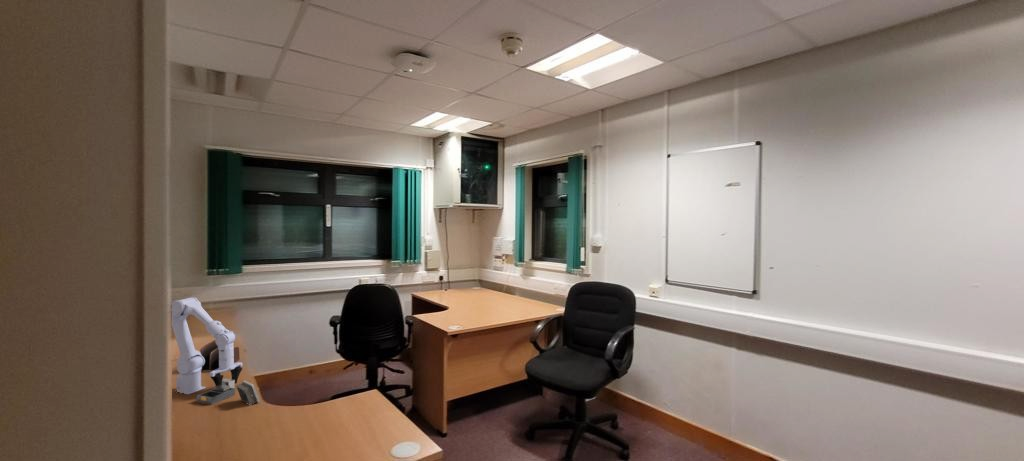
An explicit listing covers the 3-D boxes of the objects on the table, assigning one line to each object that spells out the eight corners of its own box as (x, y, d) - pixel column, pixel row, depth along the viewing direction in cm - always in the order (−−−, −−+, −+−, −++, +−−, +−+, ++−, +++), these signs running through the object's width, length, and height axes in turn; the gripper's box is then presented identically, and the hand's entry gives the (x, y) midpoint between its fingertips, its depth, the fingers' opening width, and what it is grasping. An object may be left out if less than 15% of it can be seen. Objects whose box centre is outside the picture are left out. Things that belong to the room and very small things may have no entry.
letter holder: (199, 372, 212) (199, 346, 212) (221, 360, 231) (221, 336, 231) (219, 372, 213) (219, 345, 213) (240, 359, 233) (239, 335, 233)
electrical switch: (260, 402, 176) (258, 382, 175) (247, 408, 171) (245, 387, 171) (250, 397, 181) (247, 378, 180) (237, 403, 176) (235, 383, 176)
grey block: (219, 391, 188) (219, 380, 188) (225, 388, 191) (225, 378, 191) (228, 392, 187) (228, 382, 186) (234, 390, 189) (234, 379, 189)
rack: (196, 402, 176) (196, 392, 176) (221, 392, 186) (220, 383, 186) (211, 404, 173) (210, 394, 173) (235, 394, 184) (234, 385, 184)
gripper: (217, 363, 180) (218, 393, 181) (247, 353, 194) (247, 381, 194) (206, 362, 182) (206, 391, 183) (236, 352, 196) (236, 379, 196)
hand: (227, 386), depth 189 cm, fingers open, 7 cm apart
